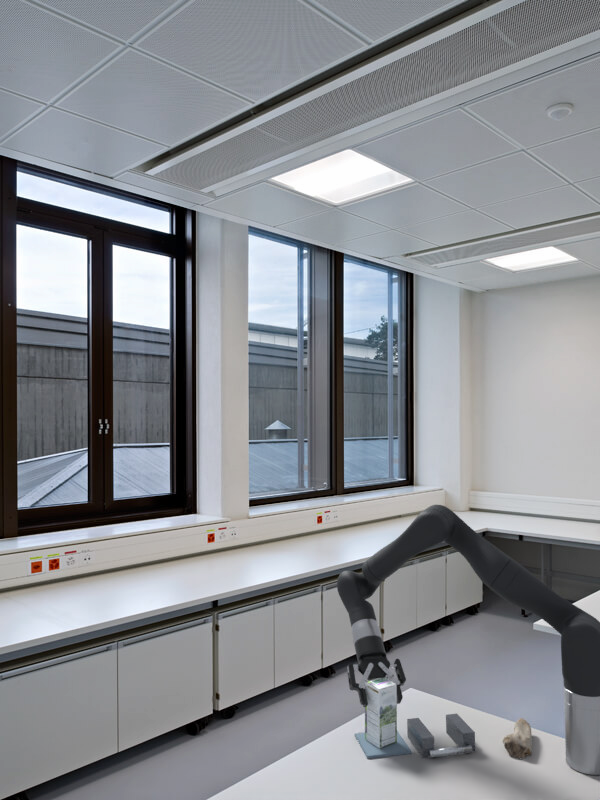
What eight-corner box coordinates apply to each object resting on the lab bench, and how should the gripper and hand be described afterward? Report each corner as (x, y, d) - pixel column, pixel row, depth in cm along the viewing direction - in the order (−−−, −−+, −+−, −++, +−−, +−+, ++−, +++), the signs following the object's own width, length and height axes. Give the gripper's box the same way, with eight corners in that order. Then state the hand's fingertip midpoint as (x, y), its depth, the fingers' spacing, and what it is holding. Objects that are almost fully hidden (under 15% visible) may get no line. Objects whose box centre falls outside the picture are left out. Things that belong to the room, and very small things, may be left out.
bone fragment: (529, 762, 147) (528, 741, 147) (501, 755, 150) (501, 735, 151) (541, 737, 159) (540, 718, 159) (515, 731, 162) (514, 712, 162)
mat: (395, 731, 162) (395, 728, 162) (411, 753, 151) (411, 750, 151) (354, 736, 160) (354, 733, 160) (367, 758, 149) (367, 756, 149)
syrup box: (382, 733, 160) (381, 675, 161) (398, 743, 155) (396, 683, 156) (364, 739, 157) (363, 680, 157) (380, 749, 152) (379, 688, 152)
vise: (457, 731, 162) (456, 713, 162) (478, 754, 150) (477, 735, 150) (407, 737, 159) (407, 719, 159) (425, 761, 148) (424, 741, 148)
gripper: (344, 636, 163) (357, 700, 151) (396, 632, 165) (413, 695, 154) (339, 650, 168) (351, 713, 156) (390, 645, 171) (406, 707, 159)
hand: (382, 704), depth 155 cm, fingers open, 8 cm apart
